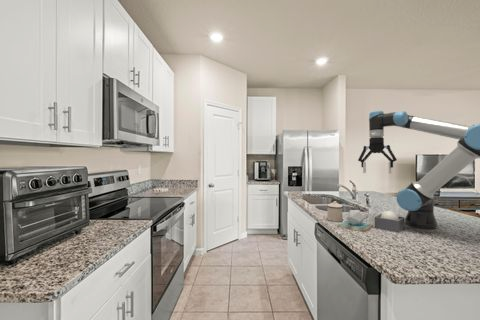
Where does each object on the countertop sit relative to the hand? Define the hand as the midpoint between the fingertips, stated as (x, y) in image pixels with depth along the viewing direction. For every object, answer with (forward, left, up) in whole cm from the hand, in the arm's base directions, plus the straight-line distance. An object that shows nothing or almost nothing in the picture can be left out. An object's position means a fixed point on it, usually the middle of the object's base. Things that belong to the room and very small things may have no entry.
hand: (376, 173), depth 151 cm
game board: (+5, +19, -29) cm, 35 cm away
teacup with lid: (+20, +13, -30) cm, 38 cm away
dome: (-9, +8, -28) cm, 31 cm away
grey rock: (+5, +19, -28) cm, 34 cm away
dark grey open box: (-9, +8, -29) cm, 32 cm away
